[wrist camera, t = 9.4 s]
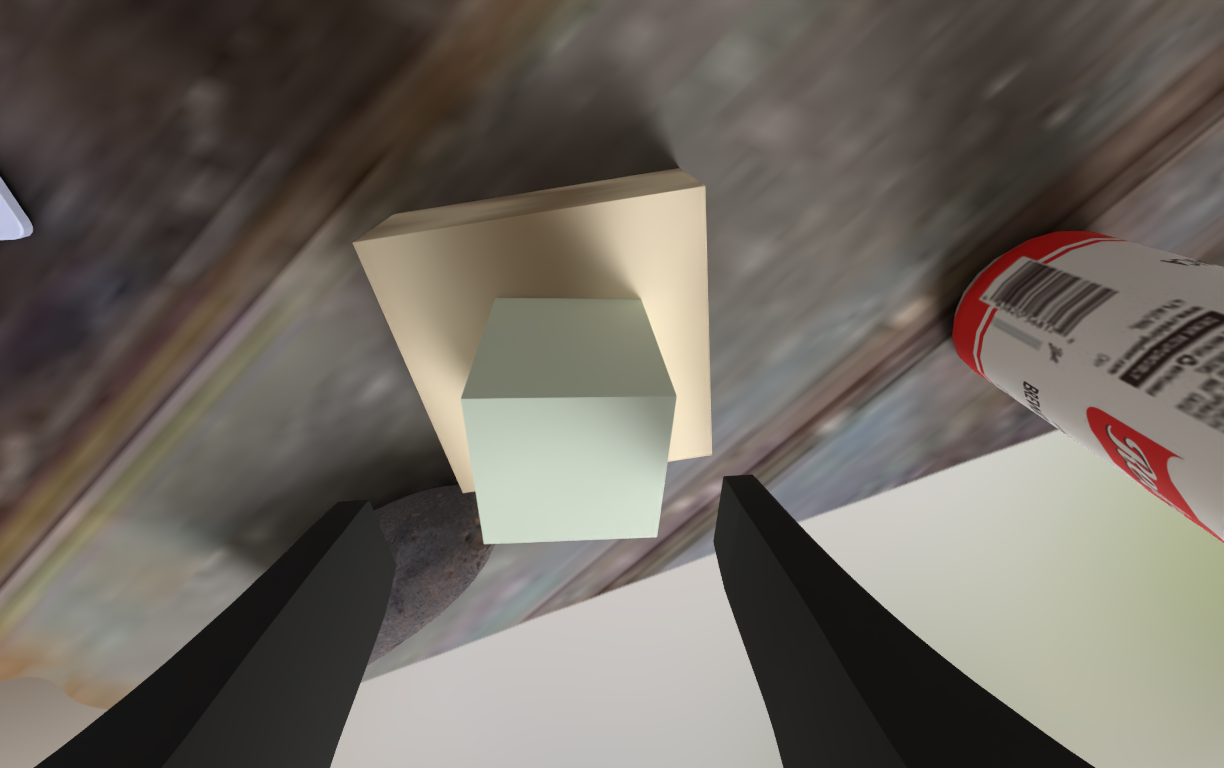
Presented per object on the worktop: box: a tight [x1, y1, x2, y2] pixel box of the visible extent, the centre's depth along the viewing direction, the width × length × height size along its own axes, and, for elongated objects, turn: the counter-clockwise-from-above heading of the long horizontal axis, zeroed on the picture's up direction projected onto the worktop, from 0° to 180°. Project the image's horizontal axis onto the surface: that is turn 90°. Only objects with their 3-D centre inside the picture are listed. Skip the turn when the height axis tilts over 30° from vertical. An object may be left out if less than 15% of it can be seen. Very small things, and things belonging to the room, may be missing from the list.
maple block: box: [353, 168, 712, 493], centre depth 17 cm, size 10×10×4 cm
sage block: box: [461, 298, 677, 544], centre depth 13 cm, size 4×4×6 cm
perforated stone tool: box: [261, 485, 495, 665], centre depth 21 cm, size 15×5×7 cm, turn 119°
